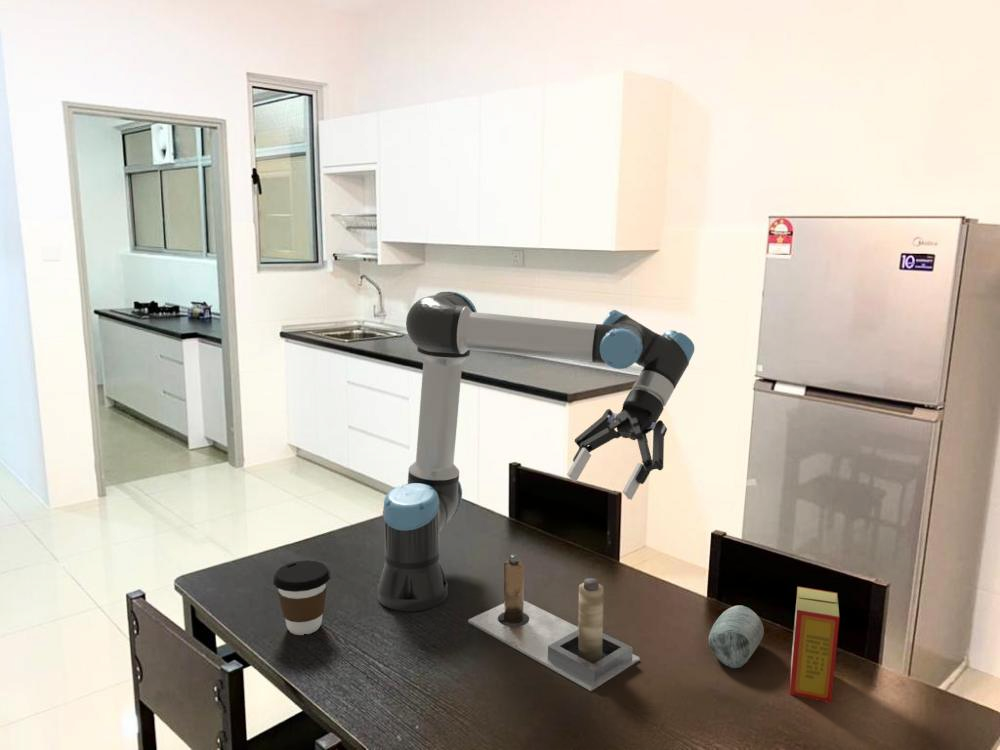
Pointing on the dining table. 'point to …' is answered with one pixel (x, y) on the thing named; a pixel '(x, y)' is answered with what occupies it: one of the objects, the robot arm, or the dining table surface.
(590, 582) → the birch leg peg
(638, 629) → the dining table surface
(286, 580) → the coffee cup
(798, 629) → the baking soda box
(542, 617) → the bolt plate
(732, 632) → the spool
